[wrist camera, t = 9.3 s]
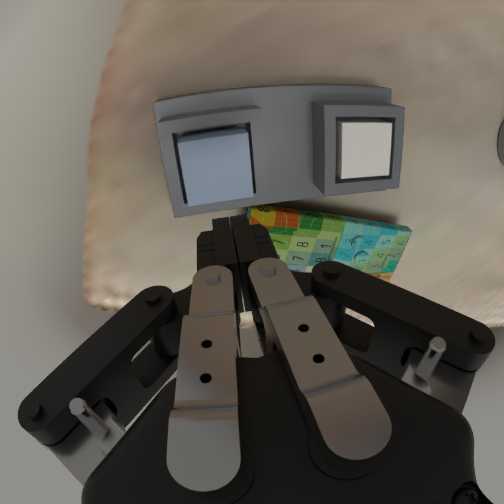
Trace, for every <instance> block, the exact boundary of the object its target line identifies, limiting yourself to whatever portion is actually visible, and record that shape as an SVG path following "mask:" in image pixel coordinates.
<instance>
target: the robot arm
mask: <svg viewBox="0 0 504 504" xmlns="http://www.w3.org/2000/svg"><path fill="white" fill-rule="evenodd" d="M498 153H499V157H500V160H501V162H502V164H503V165H504V121H503V124H502V126H501V129H500V132H499V137H498ZM212 224H213V230H212V231H205V232H201V233H200V235H199V236H198V238H197V272H196V274H195V275H194V277H193V281H192V284H191V285H190V286H188V287H187V288H185V289H183V290H180V291H178V292H175V293H173V292H172V291H171V289H169V288H168V287H165V286H152V287H149V288H146V289H144V290H143V291H141V292H140V293H139V294H138V295H136V296H135V297H134V298H133V299H132V300H131V301H130V302H128V303H127V304H126V305H125V306H124V307H123V308H122V309H120V310H119V311H118V312H117V313H116V314H115V315H114V316H113V317H111V318H110V320H108V321H107V322H106V323H105V324H104V325H102V326H101V327H100V328H99V329H98V330H97V331H96V332H95V333H94V334H92V335H91V336H90V337H89V338H88V339H87V340H86V341H85V342H84V343H83V344H82V345H81V346H79V348H77V349H76V350H75V351H74V352H73V353H72V354H71V355H70V356H69V357H67V358H66V359H65V360H64V361H63V362H62V363H61V364H60V365H59V366H58V367H57V368H56V369H55V370H54V371H53V372H52V373H50V374H49V375H48V376H47V377H46V378H45V379H44V380H43V381H42V382H41V383H40V384H39V385H38V386H37V387H36V388H35V389H34V390H33V391H32V392H31V393H30V394H29V395H28V396H27V397H26V398H25V399H24V400H23V401H22V403H21V404H20V407H19V410H18V420H19V423H20V425H21V426H22V427H23V428H24V429H25V430H26V431H27V432H28V433H30V434H31V435H32V436H33V437H35V438H36V439H37V441H38V442H39V443H41V444H42V445H43V446H44V447H46V448H47V449H48V450H50V451H51V452H53V453H54V454H55V455H56V457H57V458H58V459H59V460H60V461H61V462H62V463H63V464H64V465H65V467H66V468H67V469H68V470H69V471H70V472H71V473H72V474H73V475H74V476H75V477H76V478H77V479H78V480H79V482H80V483H81V484H82V485H84V488H83V491H82V504H493V503H492V502H491V501H490V500H489V499H488V498H487V497H486V496H485V495H484V494H483V493H482V491H481V490H480V489H479V487H478V484H477V481H476V476H475V469H474V437H473V432H472V429H471V426H470V424H469V422H468V421H467V420H466V418H465V417H464V416H463V415H462V411H463V408H464V406H465V403H466V401H467V397H468V395H469V392H470V389H471V386H472V383H473V380H474V377H475V375H476V373H477V372H478V371H479V369H480V368H481V366H482V365H483V363H484V362H485V361H486V359H487V357H488V356H489V354H490V353H491V352H492V350H493V348H494V346H495V338H494V335H493V333H492V331H491V330H490V329H489V328H488V327H487V326H486V325H484V324H483V323H481V322H479V321H476V320H474V319H472V318H470V317H467V316H465V315H463V314H461V313H458V312H456V311H454V310H452V309H449V308H447V307H445V306H442V305H440V304H438V303H436V302H433V301H431V300H429V299H426V298H424V297H422V296H419V295H417V294H415V293H412V292H410V291H408V290H405V289H403V288H401V287H398V286H396V285H394V284H391V283H389V282H386V281H384V280H382V279H379V278H377V277H374V276H372V275H370V274H367V273H365V272H362V271H360V270H358V269H355V268H353V267H350V266H348V265H345V264H343V263H340V262H337V261H322V262H319V263H317V264H316V265H315V266H314V267H313V268H312V272H298V271H293V270H290V269H289V268H288V266H287V264H286V263H285V262H284V261H282V260H280V259H279V257H278V254H277V252H276V249H275V247H274V244H273V242H272V239H271V237H270V235H269V232H268V230H267V228H265V227H264V226H263V225H261V224H254V225H250V224H249V221H248V218H247V215H246V214H245V215H238V216H231V217H230V222H229V217H224V218H217V219H212ZM230 224H231V227H230ZM241 291H242V292H241ZM242 296H243V301H244V306H245V311H246V312H247V311H252V315H253V324H254V329H255V332H256V335H257V338H258V341H259V344H260V347H261V350H262V352H263V355H264V356H262V357H259V358H245V357H242V347H241V334H240V321H241V320H240V313H242V312H244V309H243V301H242ZM346 307H347V308H349V309H351V310H353V311H355V312H357V313H359V314H362V315H364V316H366V317H368V318H369V319H371V320H372V322H373V323H374V326H375V327H373V326H371V325H369V324H367V323H365V322H363V321H361V320H358V319H356V318H354V317H352V316H350V315H348V314H346V313H345V311H346ZM149 340H150V341H151V343H150V344H149V345H148V346H147V347H146V348H145V349H144V350H143V351H142V352H141V353H140V354H139V355H138V356H137V357H136V358H135V359H134V360H133V361H132V358H133V356H134V355H135V354H136V353H137V352H138V351H139V350H140V349H141V348H142V347H143V346H144V345H145V344H146V343H147V342H148V341H149ZM131 361H132V362H131ZM176 370H177V377H176V378H174V379H173V380H171V381H170V382H169V383H168V384H166V385H165V386H164V387H163V388H162V389H161V390H160V392H159V393H158V394H157V395H156V396H155V398H154V399H153V400H152V401H151V402H150V404H149V405H148V406H147V408H146V409H145V410H144V411H143V412H142V413H141V415H140V416H139V417H138V418H137V420H136V421H135V422H134V423H133V424H132V425H131V427H130V428H129V429H128V430H127V431H126V430H125V427H126V426H127V425H128V424H129V423H130V422H131V421H132V420H133V419H134V417H135V416H136V415H137V414H138V413H139V412H140V410H142V408H143V407H144V406H145V405H146V404H147V403H148V402H149V400H150V399H151V398H152V397H153V396H154V395H155V394H156V393H157V392H158V390H159V389H160V388H161V387H162V386H163V385H164V384H165V382H166V381H167V380H168V379H169V378H170V377H171V376H172V375H173V373H174V372H175V371H176Z"/></svg>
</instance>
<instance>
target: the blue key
mask: <svg viewBox="0 0 504 504" xmlns="http://www.w3.org/2000/svg"><path fill="white" fill-rule="evenodd" d="M178 149H179V155H180V161H181V167H182V173H183V178H184V184H185V190H186V195H187V200H188V206H195V205H201V204H208V203H214V202H221V201H227V200H234V199H241V198H248V197H254V195H253V184H252V172H251V161H250V150H249V139H248V133H247V131H246V130H245V129H244V128H243V127H234V128H226V129H219V130H211V131H205V132H198V133H192V134H186V135H180V137H179V140H178Z"/></svg>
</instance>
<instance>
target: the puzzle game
mask: <svg viewBox="0 0 504 504" xmlns="http://www.w3.org/2000/svg"><path fill="white" fill-rule="evenodd" d="M247 218H248V221H249V224H250V225H254V224H261V225H263V226H264V227H265V228H267V230H268V232H269V235H270V237H271V239H272V242H273V244H274V247H275V249H276V252H277V254H278V257H279V259H280V260H282V261H284V262H285V263H286V264H287V266H288V268H289V269H290V270H293V271H298V272H312V268H313V267H314V266H315V265H316V264H317V263H319V262H322V261H337V262H340V263H343V264H345V265H348V266H350V267H353V268H355V269H358V270H360V271H362V272H365V273H367V274H370V275H372V276H374V277H377V278H379V279H382V280H384V281H386V282H389V280H390V278H391V276H392V274H393V272H394V270H395V268H396V266H397V264H398V262H399V259H400V257H401V255H402V253H403V251H404V249H405V246H406V244H407V242H408V240H409V237H410V235H411V233H412V231H411V230H410V229H409V228H408V227H407V226H402V225H397V224H391V223H385V222H379V221H373V220H367V219H361V218H355V217H348V216H342V215H335V214H328V213H322V212H315V211H307V210H300V209H293V208H285V207H277V206H269V205H255V206H248V211H247ZM241 292H242V291H241ZM242 301H243V296H242ZM243 304H244V301H243Z"/></svg>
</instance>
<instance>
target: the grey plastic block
mask: <svg viewBox="0 0 504 504" xmlns="http://www.w3.org/2000/svg"><path fill="white" fill-rule="evenodd" d="M153 106H154V112H155V118H156V125H157V131H158V137H159V142H160V148H161V153H162V159H163V164H164V169H165V175H166V180H167V185H168V190H169V195H170V199H171V204H172V209H173V214H174V218H178V217H183V216H189V215H196V214H202V213H208V212H214V211H221V210H227V209H234V208H241V207H248V206H255V205H262V204H269V203H277V202H284V201H292V200H300V199H308V198H316V197H325V196H334V195H343V194H352V193H362V192H372V191H382V190H386V189H394V188H399V181H400V171H401V161H402V148H403V133H404V110H405V107H401V106H397V105H394V104H391V89H390V88H384V87H379V86H367V85H347V84H291V85H270V86H256V87H244V88H234V89H225V90H217V91H209V92H202V93H195V94H189V95H183V96H177V97H171V98H166V99H161V100H157V101H155V102H153ZM336 117H376V118H379V119H382V120H385V121H388V122H390V123H392V137H391V154H390V167H389V175H385V176H371V177H358V178H346V179H341V178H340V177H338V176H337V175H336V174H335V169H336ZM234 127H243V128H244V129H245V130H246V131H247V133H248V139H249V150H250V161H251V172H252V184H253V195H254V197H248V198H241V199H234V200H227V201H221V202H214V203H208V204H201V205H195V206H188V200H187V195H186V190H185V184H184V178H183V173H182V167H181V161H180V155H179V149H178V140H179V137H180V135H186V134H192V133H198V132H205V131H211V130H219V129H226V128H234Z"/></svg>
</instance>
